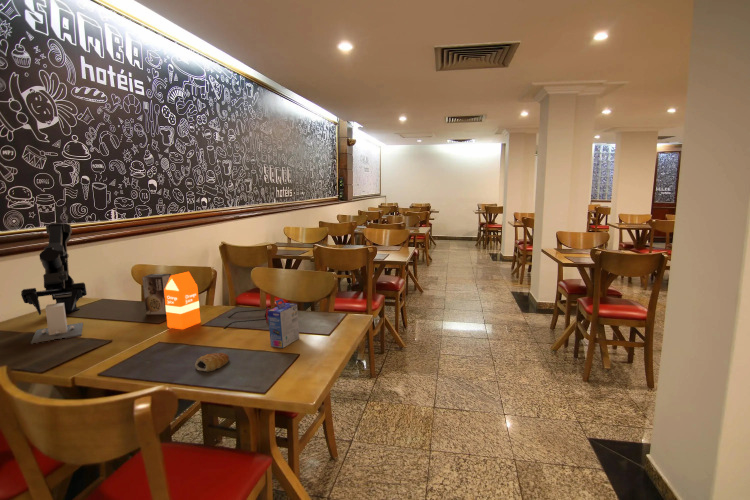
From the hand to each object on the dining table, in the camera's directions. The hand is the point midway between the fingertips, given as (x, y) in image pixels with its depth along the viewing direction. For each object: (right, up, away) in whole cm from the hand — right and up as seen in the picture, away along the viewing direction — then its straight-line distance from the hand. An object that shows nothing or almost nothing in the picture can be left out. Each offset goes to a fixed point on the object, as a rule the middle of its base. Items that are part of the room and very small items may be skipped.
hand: (56, 311), depth 149 cm
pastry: (+68, -12, -29) cm, 75 cm away
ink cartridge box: (+86, -9, -12) cm, 87 cm away
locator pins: (+2, -8, -1) cm, 8 cm away
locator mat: (+1, -8, +1) cm, 8 cm away
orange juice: (+43, -6, +8) cm, 44 cm away
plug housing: (0, -7, +1) cm, 7 cm away
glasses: (+66, -6, +11) cm, 68 cm away
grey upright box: (+25, -4, +25) cm, 35 cm away
